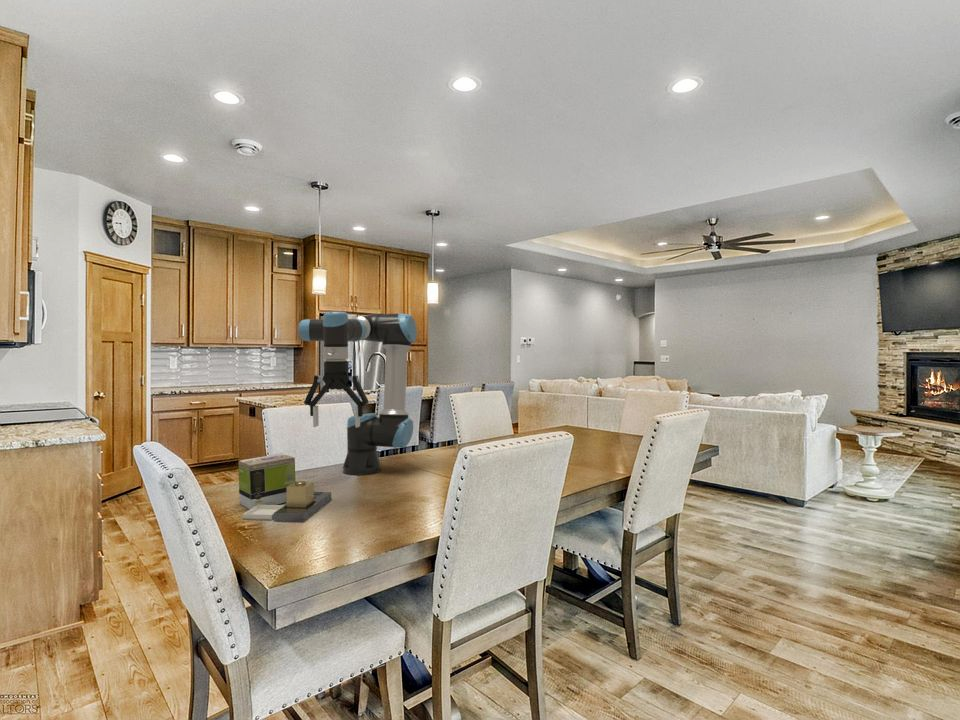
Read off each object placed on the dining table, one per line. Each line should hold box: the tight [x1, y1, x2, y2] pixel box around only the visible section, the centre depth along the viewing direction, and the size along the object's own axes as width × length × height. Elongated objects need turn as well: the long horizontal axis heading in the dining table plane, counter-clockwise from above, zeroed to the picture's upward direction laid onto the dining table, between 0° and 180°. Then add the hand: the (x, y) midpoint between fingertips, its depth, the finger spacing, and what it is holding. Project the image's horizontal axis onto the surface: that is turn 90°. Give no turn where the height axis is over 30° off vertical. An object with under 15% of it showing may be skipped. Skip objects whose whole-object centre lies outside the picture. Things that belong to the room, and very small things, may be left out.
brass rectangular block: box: [286, 480, 315, 509], centre depth 161 cm, size 6×6×10 cm
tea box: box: [238, 452, 297, 510], centre depth 171 cm, size 15×10×15 cm
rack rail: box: [273, 491, 333, 523], centre depth 164 cm, size 22×9×3 cm, turn 175°
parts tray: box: [242, 504, 285, 521], centre depth 159 cm, size 9×9×2 cm
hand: (336, 426), depth 167 cm, fingers open, 13 cm apart
